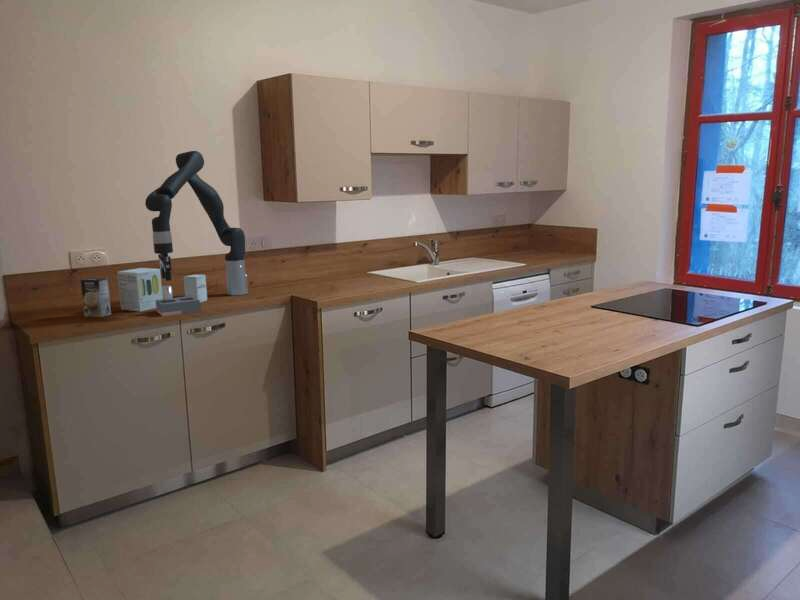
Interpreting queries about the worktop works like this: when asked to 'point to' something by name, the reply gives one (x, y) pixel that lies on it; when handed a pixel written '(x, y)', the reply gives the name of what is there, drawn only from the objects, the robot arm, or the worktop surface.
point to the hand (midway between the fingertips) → (166, 279)
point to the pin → (167, 294)
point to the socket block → (178, 306)
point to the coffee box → (96, 297)
